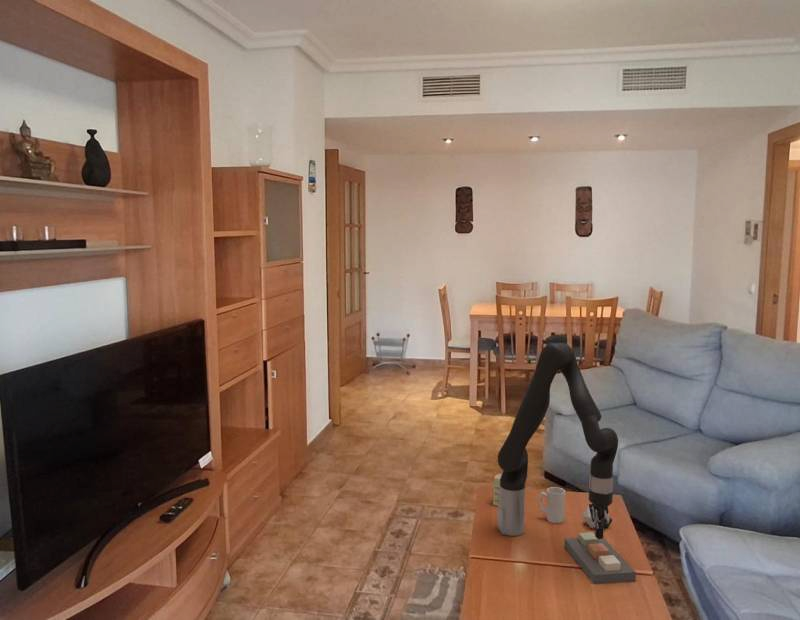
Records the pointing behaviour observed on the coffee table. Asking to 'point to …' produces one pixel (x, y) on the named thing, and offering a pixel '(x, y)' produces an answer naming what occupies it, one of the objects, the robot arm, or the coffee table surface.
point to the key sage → (587, 539)
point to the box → (496, 490)
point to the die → (589, 517)
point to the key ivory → (609, 563)
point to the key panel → (592, 566)
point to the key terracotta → (597, 550)
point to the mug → (553, 504)
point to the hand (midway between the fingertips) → (599, 537)
